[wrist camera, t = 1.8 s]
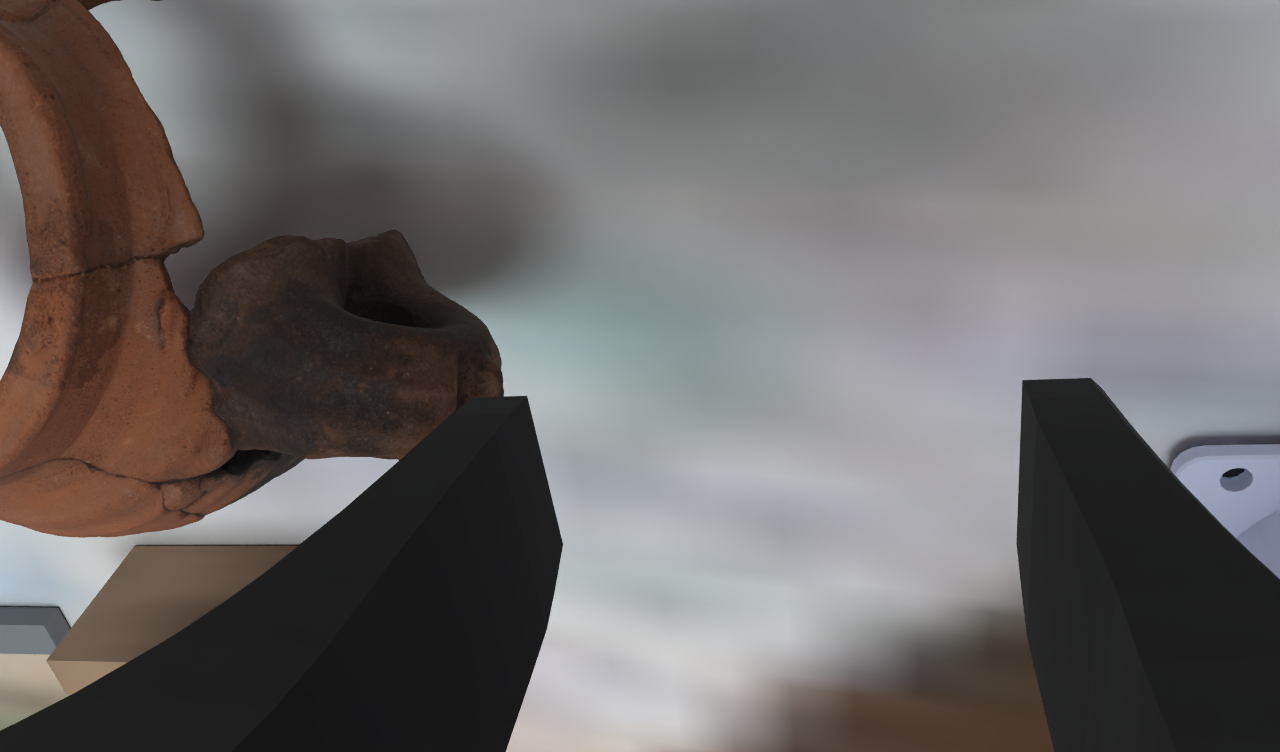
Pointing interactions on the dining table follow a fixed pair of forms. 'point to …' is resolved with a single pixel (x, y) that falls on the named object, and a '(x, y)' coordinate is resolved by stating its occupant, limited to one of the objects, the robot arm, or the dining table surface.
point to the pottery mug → (188, 318)
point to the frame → (31, 630)
